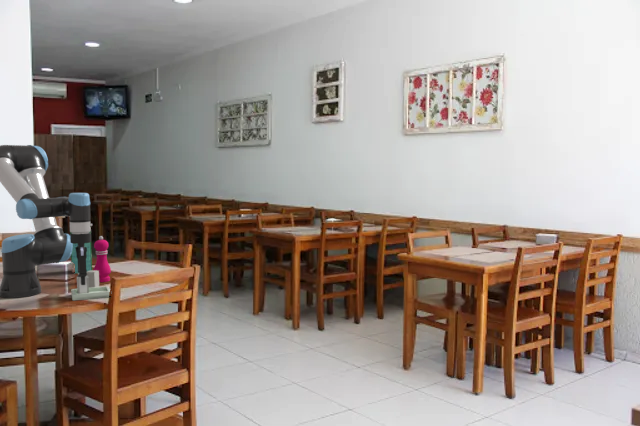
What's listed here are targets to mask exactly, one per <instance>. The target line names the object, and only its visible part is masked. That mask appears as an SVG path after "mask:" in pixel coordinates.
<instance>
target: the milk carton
mask: <svg viewBox="0 0 640 426" xmlns="http://www.w3.org/2000/svg"><path fill="white" fill-rule="evenodd" d="M90 227H92V226H90ZM69 233H70V234H71V232H70V231H69ZM89 233H91V234H92V230H91V231H90V232H89ZM70 234H69V235H70ZM84 245H85V247H86V248H87V252H86V254H87V258H86V270H87V271H89V270H93V257H92V256H93V255H92V254H93V253H92V241H91V242H90V243H85V244H84ZM77 246H78V244H73V249H72V254H71V256H70V258H71V259H70V261H71V262H73V263H74V264H75V273H74V274H78V259H77V256H76V247H77Z"/></svg>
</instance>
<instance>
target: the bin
mask: <svg viewBox="0 0 640 426" xmlns="http://www.w3.org/2000/svg"><path fill="white" fill-rule="evenodd" d="M110 290H111V288H110V286H109V285H107V286H99V287H92V288H89V293H82V294H77V288H72V289H71V290H70V292H71V300H72V301H82V300H94V299H105V298H110V297H109V292H110Z"/></svg>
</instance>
